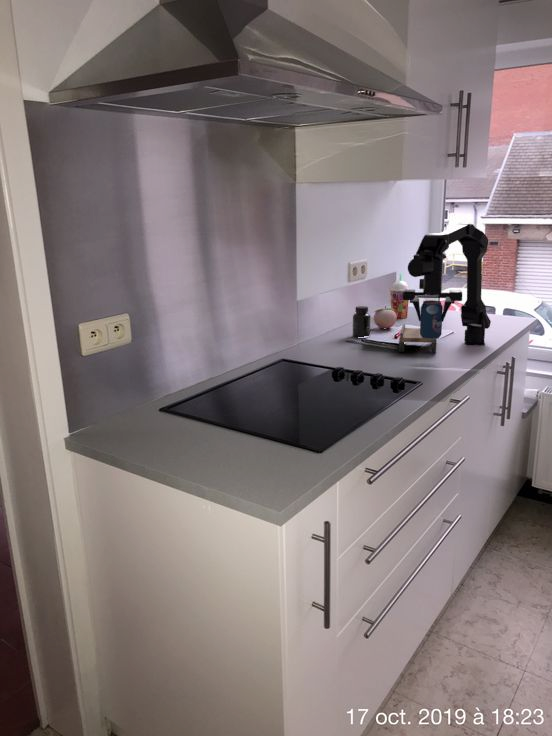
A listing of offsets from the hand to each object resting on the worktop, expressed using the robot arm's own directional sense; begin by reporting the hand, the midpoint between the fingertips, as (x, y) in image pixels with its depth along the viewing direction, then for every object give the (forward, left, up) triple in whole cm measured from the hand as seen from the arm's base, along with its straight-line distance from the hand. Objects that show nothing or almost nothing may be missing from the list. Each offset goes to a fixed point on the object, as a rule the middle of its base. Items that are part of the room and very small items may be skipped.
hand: (431, 321), depth 204 cm
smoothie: (+14, -65, -13) cm, 68 cm away
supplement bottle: (+26, -29, -13) cm, 42 cm away
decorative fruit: (+18, -43, -13) cm, 49 cm away
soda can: (0, 0, -6) cm, 6 cm away
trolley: (+4, -15, -13) cm, 20 cm away
